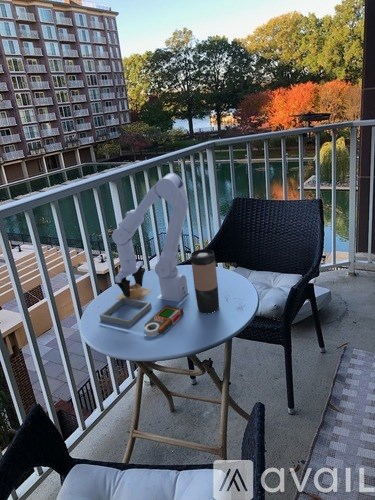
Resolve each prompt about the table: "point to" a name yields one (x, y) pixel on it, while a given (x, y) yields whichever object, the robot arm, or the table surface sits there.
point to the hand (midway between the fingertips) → (133, 291)
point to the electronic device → (163, 320)
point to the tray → (129, 323)
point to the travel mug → (205, 280)
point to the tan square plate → (143, 294)
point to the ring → (135, 291)
